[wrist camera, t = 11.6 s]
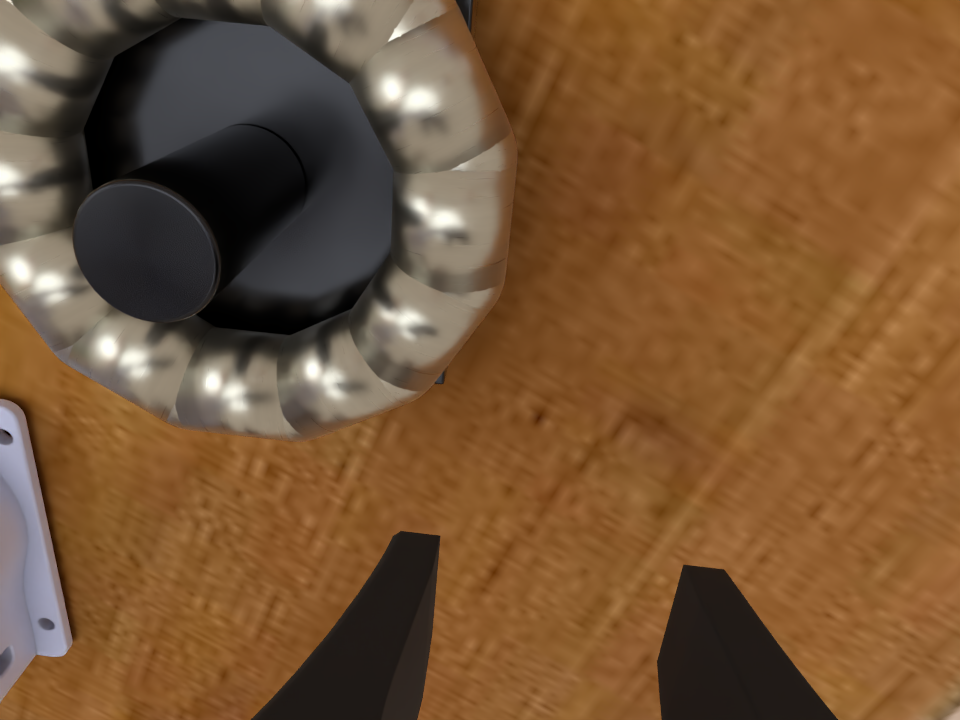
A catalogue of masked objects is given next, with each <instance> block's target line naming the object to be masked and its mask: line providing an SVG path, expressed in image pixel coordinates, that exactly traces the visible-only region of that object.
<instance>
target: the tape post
mask: <svg viewBox="0 0 960 720" xmlns="http://www.w3.org/2000/svg"><path fill="white" fill-rule="evenodd" d="M455 1H456V3H457V5H458V7H459V8H460V11H461V13H462V15H463V17H464V20H465V22H466V24H467V27H468V29H469V31H470V33H471V36H472V38H473V40H474V41H475V28H476V16H477V3H478V0H455ZM84 132H85V139H86V146H87V152H88V159H89V166H90V173H91V180H92V186H93V191H92V192H91V193H90V194H89V195H88V196H87V197H86V198H85V200H84V201H83V202H82V204H81V206H80V207H79V209H78V211H77V214H76V217H75V220H74V225H73V234H72V240H73V248H74V253H75V257H76V260H77V262H78V265H79V267H80V269H81V271H82V273H83V275H84V277H85V278H86V280H87V281H88V283H89V284H90V285H91V287H92V288H93V289H94V290H95V292H96V293H97V294H98V295H99V296H100V297H101V298H103V299H104V300H105V301H106V302H107V303H108V304H110V305H111V306H113V307H114V308H116V309H117V310H119V311H121V312H123V313H125V314H126V315H129V316H131V317H134V318H137V319H140V320H144V321H149V322H158V323H166V322H176V321H180V320H184V319H187V318H189V317H191V316H193V315H197V316H199V317H200V318H202V319H204V320H205V321H207V322H208V323H210V324H212V325H213V326H215V327H218V328H227V329H236V330H245V331H255V332H264V333H273V334H283V335H292V334H294V333H297V332H299V331H301V330H304V329H306V328H308V327H311V326H313V325H315V324H318V323H320V322H322V321H325V320H327V319H329V318H332V317H334V316H336V315H339V314H341V313H343V312H346V311H348V310H350V309H352V308H353V307H354V305H355V304H356V302H357V301H358V299H359V298H360V296H361V295H362V293H363V292H364V290H365V289H366V288H367V286H368V285H369V283H370V282H371V280H372V279H373V277H374V276H375V274H376V273H377V271H378V270H379V268H380V267H381V265H382V264H383V262H384V261H385V259H386V258H387V256H388V255H389V253H390V252H391V229H392V198H393V168H392V166H391V164H390V162H389V160H388V158H387V156H386V154H385V152H384V150H383V148H382V146H381V144H380V142H379V141H378V139H377V137H376V135H375V133H374V131H373V129H372V127H371V125H370V123H369V121H368V119H367V117H366V115H365V113H364V111H363V109H362V107H361V105H360V103H359V101H358V99H357V97H356V95H355V93H354V91H353V90H352V88H351V86H350V84H349V83H348V82H346V81H345V80H344V79H342V78H341V77H339V76H338V75H337V74H335V73H334V72H332V71H331V70H330V69H328V68H327V67H325V66H324V65H323V64H321V63H320V62H318V61H317V60H316V59H314V58H313V57H311V56H310V55H309V54H307V53H306V52H304V51H303V50H302V49H300V48H299V47H297V46H296V45H295V44H293V43H292V42H290V41H289V40H288V39H286V38H285V37H283V36H282V35H281V34H279V33H278V32H276V31H275V30H274V29H272V28H271V27H269V26H262V25H252V24H241V23H231V22H221V21H210V20H200V19H189V18H180V19H179V20H177V21H175V22H173V23H172V24H170V25H168V26H166V27H165V28H163V29H161V30H159V31H158V32H156V33H154V34H153V35H151V36H149V37H147V38H146V39H144V40H142V41H140V42H139V43H137V44H135V45H133V46H132V47H130V48H128V49H127V50H125V51H123V52H121V53H120V54H118V55H116V56H114V59H113V61H112V64H111V66H110V68H109V71H108V73H107V75H106V78H105V80H104V82H103V85H102V87H101V89H100V92H99V94H98V96H97V99H96V101H95V103H94V106H93V108H92V110H91V113H90V115H89V117H88V120H87V122H86V124H85V127H84ZM447 368H448V366H447V367H446V368H445V370H444V371H443V372H442V374H441V375H440V376H439V378H438V379H437V380H436V381H435V383H434V384H443V383H444V381H445V376H446V372H447Z"/></svg>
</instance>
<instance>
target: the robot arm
mask: <svg viewBox="0 0 960 720" xmlns="http://www.w3.org/2000/svg"><path fill="white" fill-rule="evenodd" d="M4 430H6V431H8V432H9V433H10V434H11V436H12V437H11V436H9V435H7V434H6V433H5V431H4ZM439 546H440V536H438V535H429V534H421V533H413V532H404V531H400V532H399V533H397V534H396V535H394V536H393V538H392V540H391V542H390V544H389V546H388V547H387V549H386V551H385V553H384V554H383V556H382V558H381V560H380V561H379V563H378V565H377V566H376V568H375V569H374V571H373V572H372V574H371V576H370V577H369V578H368V580H367V581H366V583H365V584H364V586H363V587H362V589H361V590H360V592H359V593H358V595H357V596H356V597H355V599H354V600H353V601H352V603H351V604H350V605H349V607H348V608H347V609H346V611H345V612H344V613H343V615H342V616H341V618H340V619H339V620H338V622H337V623H336V624H335V626H334V627H333V628H332V629H331V631H330V632H329V633H328V635H327V636H326V637H325V638H324V639H323V641H322V642H321V643H320V644H319V645H318V647H317V648H316V649H315V650H314V651H313V652H312V654H311V655H310V656H309V657H308V658H307V660H306V661H305V662H304V663H303V664H302V665H301V667H300V668H299V669H298V670H297V671H296V673H295V674H294V675H293V676H292V677H291V678H290V679H289V680H288V681H287V683H286V684H285V685H284V686H283V687H282V688H281V689H280V690H279V691H278V692H277V693H276V694H275V696H274V697H273V698H272V699H271V700H270V701H269V702H268V703H267V704H266V705H265V706H264V707H263V708H262V709H261V710H260V711H259V712H258V713H257V714H256V715H255V716H254V717H253V718H252V719H251V720H417V718H418V714H419V710H420V706H421V702H422V698H423V691H424V685H425V678H426V672H427V665H428V658H429V652H430V645H431V638H432V630H433V618H434V606H435V594H436V582H437V570H438V558H439ZM72 642H73V640H72V635H71V631H70V626H69V621H68V616H67V612H66V607H65V602H64V597H63V593H62V588H61V583H60V578H59V574H58V569H57V564H56V559H55V555H54V550H53V545H52V540H51V536H50V531H49V526H48V521H47V517H46V512H45V507H44V502H43V498H42V493H41V488H40V483H39V479H38V474H37V469H36V464H35V460H34V455H33V450H32V445H31V441H30V436H29V431H28V426H27V421H26V417H25V415H24V412H23V410H22V409H21V408H20V407H19V406H18V405H17V404H15V403H13V402H12V401H8V400H5V399H0V702H1V701H2V699H3V698H4V697H5V695H6V694H7V693H8V692H9V690H10V689H11V688H12V686H13V685H14V684H15V682H16V681H17V680H18V678H19V677H20V676H21V674H22V673H23V672H24V670H25V669H26V668H27V666H28V665H29V664H30V662H31V661H32V660H33V658H34V657H35V656H36V655H42V656H50V657H61V656H63V655H65V654H66V653H67V651H68V650H69V648H70V647H71V646H72ZM657 666H658V679H659V693H660V705H661V716H662V720H838V719H837V718H836V717H835V716H834V714H833V713H832V712H831V711H830V709H829V708H828V707H827V706H826V705H825V703H824V702H823V701H822V700H821V698H820V697H819V696H818V695H817V693H816V692H815V691H814V690H813V688H812V687H811V686H810V684H809V683H808V682H807V681H806V679H805V678H804V677H803V675H802V674H801V673H800V672H799V670H798V669H797V668H796V667H795V665H794V664H793V663H792V661H791V660H790V659H789V657H788V656H787V655H786V654H785V652H784V651H783V650H782V648H781V647H780V646H779V644H778V643H777V641H776V640H775V639H774V637H773V636H772V635H771V633H770V632H769V631H768V629H767V628H766V627H765V625H764V624H763V622H762V621H761V620H760V618H759V617H758V615H757V614H756V613H755V611H754V610H753V609H752V607H751V606H750V604H749V603H748V602H747V600H746V599H745V597H744V596H743V595H742V593H741V592H740V590H739V589H738V588H737V586H736V585H735V584H734V582H733V581H732V579H731V578H730V577H729V575H728V574H727V573H726V571H725V570H723V569H715V568H706V567H698V566H690V565H683V569H682V572H681V576H680V580H679V583H678V587H677V591H676V594H675V598H674V602H673V605H672V609H671V613H670V616H669V620H668V624H667V627H666V631H665V635H664V638H663V642H662V646H661V649H660V653H659V657H658V660H657Z"/></svg>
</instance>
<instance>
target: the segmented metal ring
mask: <svg viewBox="0 0 960 720" xmlns="http://www.w3.org/2000/svg"><path fill="white" fill-rule="evenodd" d="M180 18H189V19H200V20H210V21H221V22H231V23H241V24H252V25H262V26H269V27H271V28H272V29H274V30H275V31H276V32H278V33H279V34H281V35H282V36H283V37H285V38H286V39H288V40H289V41H290V42H292V43H293V44H295V45H296V46H297V47H299V48H300V49H302V50H303V51H304V52H306V53H307V54H309V55H310V56H311V57H313V58H314V59H316V60H317V61H318V62H320V63H321V64H323V65H324V66H325V67H327V68H328V69H330V70H331V71H332V72H334V73H335V74H337V75H338V76H339V77H341V78H342V79H344V80H345V81H346V82H348V83H349V84H350V86H351V88H352V90H353V91H354V93H355V95H356V97H357V99H358V101H359V103H360V105H361V107H362V109H363V111H364V113H365V115H366V117H367V119H368V121H369V123H370V125H371V127H372V129H373V131H374V133H375V135H376V137H377V139H378V141H379V142H380V144H381V146H382V148H383V150H384V152H385V154H386V156H387V158H388V160H389V162H390V164H391V166H392V168H393V198H392V229H391V252H390V253H389V255H388V256H387V258H386V259H385V261H384V262H383V264H382V265H381V267H380V268H379V270H378V271H377V273H376V274H375V276H374V277H373V279H372V280H371V282H370V283H369V285H368V286H367V288H366V289H365V290H364V292H363V293H362V295H361V296H360V298H359V299H358V301H357V302H356V304H355V305H354V307H353V308H352V309H350V310H348V311H346V312H343V313H341V314H339V315H336V316H334V317H332V318H329V319H327V320H325V321H322V322H320V323H318V324H315V325H313V326H311V327H308V328H306V329H304V330H301V331H299V332H297V333H294V334H292V335H283V334H273V333H264V332H255V331H245V330H236V329H227V328H218V327H215V326H213V325H212V324H210V323H208V322H207V321H205V320H204V319H202V318H200V317H199V316H197V315H193V316H191V317H189V318H187V319H184V320H180V321H176V322H166V323H158V322H149V321H144V320H140V319H137V318H134V317H131V316H129V315H126V314H125V313H123V312H121V311H119V310H117V309H116V308H114V307H113V306H111V305H110V304H108V303H107V302H106V301H105V300H104V299H103V298H101V297H100V296H99V295H98V294H97V293H96V292H95V290H94V289H93V288H92V287H91V285H90V284H89V283H88V281H87V280H86V278H85V277H84V275H83V273H82V271H81V269H80V267H79V265H78V262H77V260H76V257H75V253H74V248H73V240H72V234H73V225H74V220H75V217H76V214H77V211H78V209H79V207H80V206H81V204H82V202H83V201H84V200H85V198H86V197H87V196H88V195H89V194H90V193H91V192H92V191H93V186H92V180H91V173H90V166H89V159H88V152H87V146H86V139H85V132H84V127H85V124H86V122H87V120H88V117H89V115H90V113H91V110H92V108H93V106H94V103H95V101H96V99H97V96H98V94H99V92H100V89H101V87H102V85H103V82H104V80H105V78H106V75H107V73H108V71H109V68H110V66H111V64H112V61H113V59H114V56H116V55H118V54H120V53H121V52H123V51H125V50H127V49H128V48H130V47H132V46H133V45H135V44H137V43H139V42H140V41H142V40H144V39H146V38H147V37H149V36H151V35H153V34H154V33H156V32H158V31H159V30H161V29H163V28H165V27H166V26H168V25H170V24H172V23H173V22H175V21H177V20H179V19H180ZM517 159H518V150H517V144H516V140H515V136H514V133H513V131H512V127H511V125H510V123H509V121H508V118H507V116H506V114H505V111H504V109H503V107H502V104H501V102H500V100H499V98H498V95H497V93H496V91H495V88H494V86H493V84H492V82H491V79H490V77H489V75H488V72H487V70H486V68H485V66H484V63H483V61H482V59H481V56H480V54H479V52H478V50H477V47H476V45H475V43H474V40H473V38H472V36H471V33H470V31H469V29H468V27H467V24H466V22H465V20H464V17H463V15H462V13H461V11H460V8H459V7H458V5H457V3H456V1H455V0H0V284H1V285H2V287H3V288H4V289H5V290H6V292H7V293H8V294H9V296H10V297H11V298H12V300H13V301H14V302H15V304H16V305H17V306H18V307H19V309H20V310H21V311H22V313H23V314H24V315H25V317H26V318H27V319H28V320H29V322H30V323H31V324H32V326H33V327H34V328H35V330H36V331H37V332H38V333H39V335H40V336H41V337H42V339H43V340H44V341H45V343H46V344H47V345H48V346H49V348H50V349H51V350H52V352H53V353H54V354H55V355H56V356H57V357H58V358H59V359H60V360H61V361H62V362H64V363H65V364H67V365H68V366H70V367H71V368H73V369H75V370H76V371H78V372H80V373H82V374H83V375H85V376H87V377H89V378H90V379H92V380H94V381H96V382H97V383H99V384H101V385H102V386H104V387H106V388H108V389H109V390H111V391H113V392H115V393H116V394H118V395H120V396H122V397H123V398H125V399H127V400H128V401H130V402H132V403H134V404H135V405H137V406H139V407H141V408H142V409H144V410H146V411H147V412H149V413H151V414H153V415H154V416H156V417H158V418H160V419H161V420H163V421H165V422H166V423H169V424H171V425H173V426H175V427H178V428H182V429H187V430H194V431H203V432H212V433H221V434H230V435H239V436H248V437H257V438H266V439H275V440H284V441H292V442H303V441H308V440H313V439H316V438H319V437H322V436H325V435H327V434H330V433H332V432H335V431H338V430H340V429H343V428H345V427H348V426H351V425H353V424H356V423H359V422H361V421H364V420H366V419H369V418H372V417H374V416H377V415H379V414H382V413H385V412H387V411H390V410H392V409H395V408H398V407H400V406H403V405H405V404H408V403H410V402H412V401H415V400H416V399H418V398H419V397H421V396H422V395H423V394H425V393H426V392H427V391H428V390H429V389H430V388H431V387H432V385H433V384H434V383H435V381H436V380H437V379H438V378H439V376H440V375H441V374H442V372H443V371H444V370H445V368H446V367H447V366H448V365H449V363H450V362H451V361H452V359H453V358H454V357H455V356H456V354H457V353H458V352H459V350H460V349H461V348H462V347H463V345H464V344H465V343H466V341H467V340H468V339H469V337H470V336H471V335H472V334H473V332H474V331H475V330H476V328H477V327H478V326H479V325H480V323H481V322H482V321H483V319H484V318H485V317H486V315H487V314H488V313H489V312H490V310H491V309H492V308H493V307H494V305H495V303H496V302H497V301H498V299H499V297H500V294H501V292H502V289H503V286H504V283H505V277H506V268H507V258H508V248H509V239H510V229H511V220H512V210H513V201H514V191H515V182H516V172H517Z"/></svg>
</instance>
